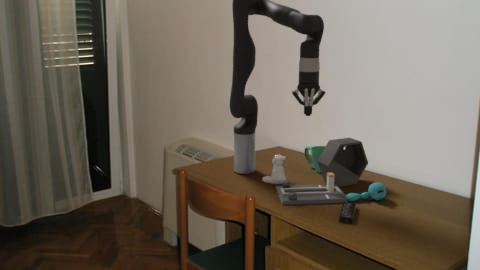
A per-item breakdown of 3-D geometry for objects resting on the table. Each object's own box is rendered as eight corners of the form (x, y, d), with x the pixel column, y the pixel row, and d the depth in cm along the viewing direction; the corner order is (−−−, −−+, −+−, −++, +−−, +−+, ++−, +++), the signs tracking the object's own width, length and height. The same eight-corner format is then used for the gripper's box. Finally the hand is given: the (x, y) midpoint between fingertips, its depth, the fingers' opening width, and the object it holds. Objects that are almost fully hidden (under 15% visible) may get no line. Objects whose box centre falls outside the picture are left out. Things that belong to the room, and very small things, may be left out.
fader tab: (326, 188, 190) (326, 172, 188) (331, 188, 190) (332, 172, 189) (328, 191, 187) (328, 175, 185) (334, 191, 187) (334, 175, 185)
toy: (352, 210, 178) (392, 198, 178) (346, 192, 178) (387, 180, 178) (346, 207, 189) (384, 196, 189) (341, 191, 190) (379, 179, 190)
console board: (275, 189, 195) (275, 181, 194) (336, 187, 197) (336, 179, 196) (282, 204, 180) (282, 195, 179) (347, 202, 182) (348, 193, 181)
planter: (321, 178, 193) (347, 132, 194) (310, 172, 200) (335, 128, 201) (350, 195, 201) (375, 151, 202) (338, 189, 208) (363, 146, 209)
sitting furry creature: (279, 177, 210) (280, 149, 207) (293, 182, 203) (293, 154, 200) (261, 181, 205) (261, 153, 202) (274, 187, 198) (275, 158, 195)
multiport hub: (355, 209, 177) (356, 202, 176) (352, 225, 163) (352, 218, 163) (343, 207, 178) (343, 201, 178) (338, 223, 165) (338, 216, 164)
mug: (337, 171, 218) (338, 149, 215) (322, 176, 212) (323, 153, 209) (312, 163, 229) (312, 142, 226) (297, 168, 223) (297, 146, 220)
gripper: (324, 68, 190) (322, 113, 194) (289, 69, 189) (288, 114, 193) (329, 70, 183) (327, 117, 187) (293, 71, 182) (292, 117, 186)
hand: (307, 115), depth 190 cm, fingers closed
